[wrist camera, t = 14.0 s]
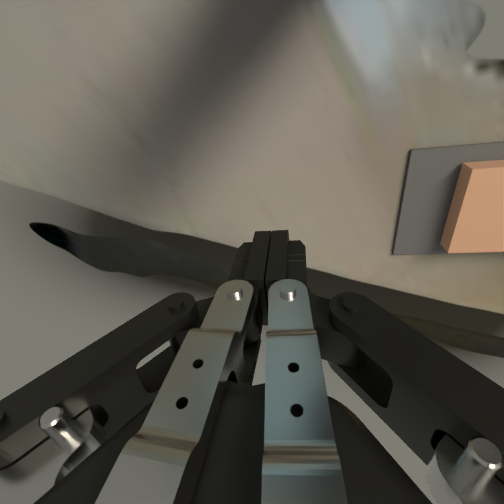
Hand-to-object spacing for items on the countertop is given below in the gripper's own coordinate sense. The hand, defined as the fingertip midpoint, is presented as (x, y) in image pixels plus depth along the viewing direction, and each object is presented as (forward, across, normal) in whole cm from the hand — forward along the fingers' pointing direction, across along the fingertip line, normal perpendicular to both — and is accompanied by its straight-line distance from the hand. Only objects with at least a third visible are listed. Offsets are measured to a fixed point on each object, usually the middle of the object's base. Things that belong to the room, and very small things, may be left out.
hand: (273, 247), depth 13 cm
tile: (+27, -22, +12) cm, 37 cm away
